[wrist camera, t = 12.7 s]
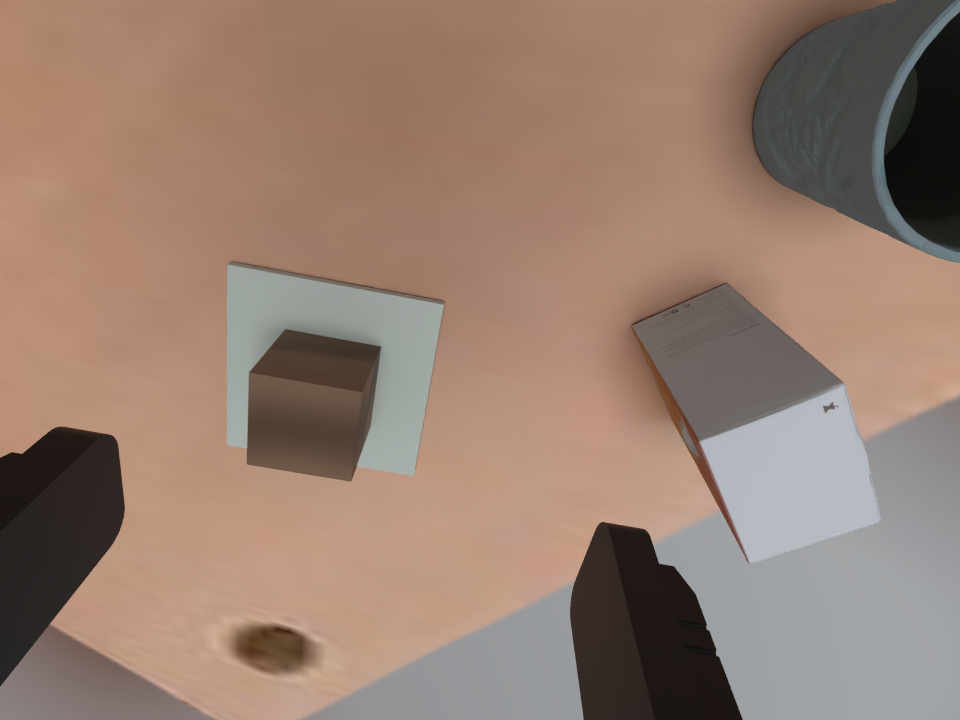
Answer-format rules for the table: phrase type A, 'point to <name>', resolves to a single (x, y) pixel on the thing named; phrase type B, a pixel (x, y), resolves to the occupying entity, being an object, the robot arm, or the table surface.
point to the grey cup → (873, 121)
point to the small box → (760, 424)
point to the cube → (311, 404)
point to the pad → (343, 315)
